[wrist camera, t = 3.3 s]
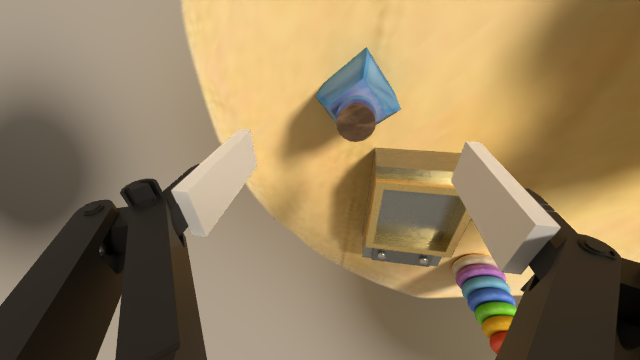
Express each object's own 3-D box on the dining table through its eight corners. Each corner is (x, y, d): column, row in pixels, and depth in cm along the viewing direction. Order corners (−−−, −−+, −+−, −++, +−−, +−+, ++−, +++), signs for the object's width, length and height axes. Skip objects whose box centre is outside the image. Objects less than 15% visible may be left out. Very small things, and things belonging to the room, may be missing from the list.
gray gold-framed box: (375, 147, 33) (377, 175, 27) (466, 153, 31) (488, 183, 25) (362, 234, 43) (362, 267, 37) (430, 242, 41) (440, 277, 36)
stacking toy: (453, 279, 46) (495, 406, 31) (447, 255, 43) (492, 385, 27) (499, 275, 43) (570, 413, 28) (497, 248, 40) (578, 390, 25)
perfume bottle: (366, 47, 26) (367, 65, 16) (394, 92, 28) (410, 132, 18) (324, 82, 29) (303, 115, 19) (352, 121, 31) (346, 168, 21)
